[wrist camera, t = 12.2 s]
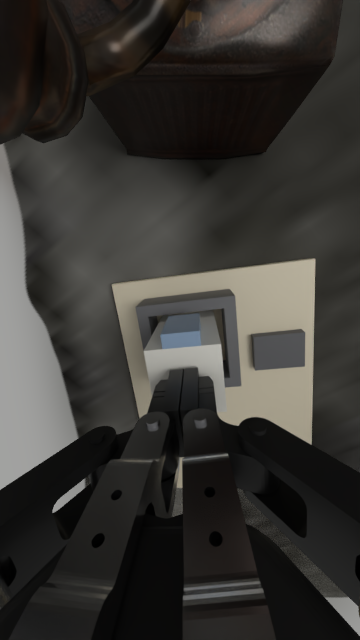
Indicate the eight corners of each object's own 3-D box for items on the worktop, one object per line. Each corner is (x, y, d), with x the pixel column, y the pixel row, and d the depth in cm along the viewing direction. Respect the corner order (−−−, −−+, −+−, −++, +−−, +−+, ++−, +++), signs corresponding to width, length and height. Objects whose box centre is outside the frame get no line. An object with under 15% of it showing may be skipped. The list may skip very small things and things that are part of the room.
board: (309, 258, 19) (337, 260, 15) (306, 474, 25) (325, 515, 21) (115, 282, 21) (97, 290, 17) (155, 480, 27) (148, 518, 23)
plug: (211, 297, 20) (219, 328, 12) (216, 352, 21) (226, 411, 13) (162, 303, 20) (141, 336, 12) (170, 355, 21) (155, 416, 14)
